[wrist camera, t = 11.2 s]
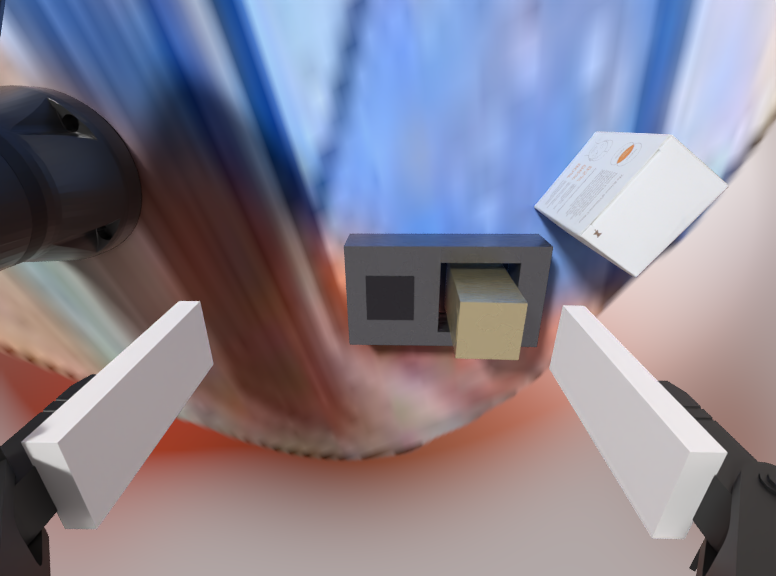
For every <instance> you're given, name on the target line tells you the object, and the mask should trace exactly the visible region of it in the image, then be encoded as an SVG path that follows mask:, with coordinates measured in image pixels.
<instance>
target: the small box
mask: <svg viewBox="0 0 776 576" xmlns="http://www.w3.org/2000/svg"><path fill="white" fill-rule="evenodd" d="M727 188H728V184H726V183H725V182H724V181H723V180H722V179H721V178H720V177H719V176H718V175H716V174H715V173H714V172H713V171H712V170H711V169H710V168H709V167H708V166H706V165H705V164H704V163H703V162H702V161H701V160H700V159H699V158H697V157H696V156H695V155H694V154H693V153H692V152H691V151H690V150H689V149H687V148H686V147H685V146H684V145H683V144H682V143H681V142H679V141H678V140H677V139H676V138H675V137H674V136H673V135H669V134H647V133H623V132H599V131H597V132H595V133H594V135H593V136H592V137H591V138H590V140H589V141H588V142H587V143H586V145H585V146H584V147H583V148H582V149H581V151H580V152H579V153H578V154H577V155H576V157H575V158H574V159H573V160H572V161H571V163H570V164H569V165H568V166H567V167H566V169H565V170H564V171H563V172H562V173H561V175H560V176H559V177H558V178H557V179H556V181H555V182H554V183H553V184H552V186H551V187H550V188H549V189H548V190H547V192H546V193H545V194H544V195H543V196H542V198H541V199H540V200H539V201H538V202H537V204H536V205H535V206H534V207H535V208H536V209H537V210H538V211H539V212H541V213H542V214H543V215H545V216H546V217H547V218H548V219H550V220H551V221H552V222H554V223H555V224H556V225H558V226H559V227H560V228H562V229H563V230H565V231H566V232H567V233H569V234H570V235H571V236H573V237H574V238H576V239H577V240H579V241H580V242H582V243H583V244H585V245H586V246H588V247H589V248H591V249H592V250H594V251H595V252H597V253H598V254H600V255H601V256H603V257H604V258H606V259H607V260H609V261H610V262H612V263H613V264H615V265H616V266H618V267H619V268H621V269H622V270H624V271H625V272H627V273H628V274H630V275H631V276H633V277H638V276H639V275H640V274H641V273H642V272H643V271H644V270H645V269H646V268H647V267H648V266H649V265H650V264H651V263H652V262H653V261H654V260H655V259H656V258H657V257H658V256H659V255H660V254H661V253H662V252H663V251H664V250H665V249H666V248H667V247H668V246H669V245H670V244H671V243H672V242H673V241H674V240H675V239H676V238H677V237H678V236H679V235H680V234H681V233H682V232H683V231H684V230H685V229H686V228H687V227H688V226H689V225H690V224H691V223H692V222H693V221H694V220H695V219H696V218H697V217H698V216H699V215H700V214H701V213H702V212H703V211H704V210H705V209H706V208H707V207H708V206H709V205H710V204H711V203H712V202H713V201H714V200H715V199H717V198H718V197H719V196H720V195H721V194H722V193H723V192H724V191H725V190H726V189H727Z"/></svg>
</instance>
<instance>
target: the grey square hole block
mask: <svg viewBox="0 0 776 576" xmlns="http://www.w3.org/2000/svg"><path fill="white" fill-rule="evenodd" d="M552 251H553V246H552V245H551V244H549V243H548V242H547V241H546V240H545V239H544V238H543V237H541V236H540V235H539V234H350V235H349V237H348V239H347V241H346V243H345V245H344V256H345V273H346V290H347V308H348V325H349V342H350V344H352V345H426V346H453V344H452V339H451V334H450V329H449V324H448V320H447V315H446V313H439V291H440V269H441V263H508V274H509V275H510V277H511V279H512V280H513V282H514V283H515V285H516V286H517V288H518V289H519V291H520V292H521V294H522V295H523V297H524V298H525V300H526V301H527V303H528V306H527V312H526V318H525V324H524V330H523V336H522V342H521V347H537V342H538V336H539V330H540V324H541V318H542V312H543V306H544V300H545V294H546V287H547V281H548V275H549V269H550V263H551V257H552Z"/></svg>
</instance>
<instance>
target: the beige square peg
mask: <svg viewBox="0 0 776 576" xmlns="http://www.w3.org/2000/svg"><path fill="white" fill-rule="evenodd" d="M444 305H445V310H446V315H447V320H448V324H449V329H450V334H451V339H452V344H453V349H454V354H455V358H465V359H499V360H519V354H520V348H521V342H522V336H523V330H524V324H525V318H526V312H527V306H528V303H527V301H526V300H525V298H524V297H523V295H522V294H521V292H520V291H519V289H518V288H517V286H516V285H515V283H514V282H513V280H512V279H511V277H510V275H509V274H508V272H507V271H506V269H505V268H504V266H503V265H502V263H447V272H446V286H445V301H444Z"/></svg>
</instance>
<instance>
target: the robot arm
mask: <svg viewBox="0 0 776 576" xmlns="http://www.w3.org/2000/svg"><path fill="white" fill-rule="evenodd" d="M4 7H5V0H0V35H1V28H2V21H3V14H4ZM140 210H141V186H140V180H139V176H138V172H137V169H136V167H135V164H134V162H133V159H132V157H131V155H130V153H129V151H128V149H127V148H126V146H125V144H124V143H123V141H122V140H121V139H120V137H119V136H118V135H117V133H116V132H115V131H114V130H113V128H112V127H111V126H110V125H109V124H108V123H107V122H106V121H105V120H104V119H103V118H102V117H101V116H100V115H98V114H97V113H96V112H95V111H94V110H92V109H91V108H90V107H88V106H87V105H85V104H84V103H82V102H80V101H79V100H77V99H75V98H73V97H71V96H69V95H66V94H64V93H61V92H58V91H55V90H51V89H47V88H40V87H29V86H14V85H10V86H0V271H1V270H4V269H6V268H8V267H11V266H14V265H16V264H19V263H22V262H39V261H65V260H80V259H85V258H89V257H93V256H96V255H98V254H101V253H103V252H105V251H107V250H110V249H112V248H114V247H116V246H117V245H119V244H120V243H122V242H123V241H124V240H125V239H126V238H127V237H128V236H129V235H130V234H131V232H132V231H133V229H134V227H135V226H136V223H137V221H138V218H139V215H140ZM212 366H213V359H212V354H211V350H210V345H209V340H208V336H207V331H206V326H205V322H204V317H203V312H202V308H201V303H200V301H179V302H177V303H176V304H175V305H174V306H173V307H172V308H171V309H170V310H168V311H167V312H166V313H165V314H164V315H163V316H162V317H161V318H159V319H158V320H157V321H156V322H155V323H154V324H153V325H152V326H151V327H149V328H148V329H147V330H146V331H145V332H144V333H143V334H142V335H140V336H139V337H138V338H137V339H136V340H135V341H134V342H133V343H131V344H130V345H129V346H128V347H127V348H126V349H125V350H124V351H123V352H121V353H120V354H119V355H118V356H117V357H116V358H115V359H114V360H112V361H111V362H110V363H109V364H108V365H107V366H106V367H105V368H103V369H102V370H101V371H100V372H99V373H98V374H91V375H90V376H88V377H86V378H84V379H82V380H81V381H79V382H77V383H75V384H73V385H72V386H70V387H69V388H68V389H67V390H66V391H65V392H63V393H62V394H61V395H60V396H59V397H58V398H57V399H56V401H53V402H52V403H51V404H50V405H48V406H47V407H46V408H45V409H44V411H43V412H41V413H39V414H38V415H37V416H35V417H34V418H33V419H32V420H31V421H30V422H28V423H27V424H26V425H25V426H24V427H23V428H21V429H20V430H19V431H18V432H17V433H16V434H14V436H12V437H11V438H10V439H9V440H7V441H6V442H5V443H4V444H3V445H2V446H0V576H50V556H49V555H50V553H49V536H48V534H47V532H46V529H45V528H44V526H45V525H46V524H47V523H48V521H49V520H50V519H51V518H52V517H53V515H54V514H55V513H56V512H57V514H58V516H59V518H60V520H61V522H62V524H63V526H64V528H65V529H98V527H99V526H100V524H101V523H102V522H103V520H104V519H105V517H106V516H107V514H108V513H109V511H110V510H111V509H112V507H113V506H114V504H115V503H116V502H117V500H118V499H119V497H120V496H121V495H122V493H123V492H124V490H125V489H126V488H127V486H128V485H129V483H130V482H131V481H132V479H133V478H134V476H135V475H136V473H137V472H138V470H139V469H140V468H141V466H142V465H143V464H144V462H145V461H146V459H147V458H148V456H149V455H150V454H151V452H152V451H153V449H154V448H155V447H156V445H157V444H158V442H159V441H160V439H161V438H162V436H163V435H164V434H165V432H166V431H167V430H168V428H169V427H170V425H171V424H172V422H173V421H174V420H175V418H176V417H177V415H178V414H179V413H180V411H181V410H182V408H183V407H184V405H185V404H186V403H187V401H188V400H189V398H190V397H191V396H192V394H193V393H194V391H195V390H196V388H197V387H198V386H199V384H200V383H201V381H202V380H203V379H204V377H205V376H206V374H207V373H208V371H209V370H210V369H211V367H212ZM549 369H550V370H551V372H552V374H553V375H554V377H555V379H556V380H557V382H558V384H559V385H560V387H561V389H562V390H563V392H564V394H565V395H566V397H567V399H568V400H569V402H570V404H571V405H572V407H573V408H574V410H575V412H576V414H577V415H578V417H579V418H580V420H581V422H582V424H583V425H584V427H585V428H586V430H587V432H588V433H589V435H590V437H591V438H592V440H593V442H594V443H595V445H596V447H597V448H598V450H599V452H600V453H601V455H602V457H603V458H604V460H605V461H606V463H607V465H608V467H609V468H610V470H611V472H612V473H613V475H614V476H615V478H616V480H617V482H618V483H619V485H620V486H621V488H622V490H623V491H624V493H625V495H626V496H627V498H628V500H629V501H630V503H631V505H632V506H633V508H634V509H635V511H636V513H637V515H638V516H639V518H640V520H641V521H642V523H643V525H644V526H645V528H646V529H647V531H648V533H649V535H650V536H651V538H654V539H656V538H657V539H659V538H660V539H685V537H686V535H687V533H688V531H689V529H690V527H691V525H692V523H693V521H694V523H695V524H696V525H697V527H698V528H699V529H700V531H701V532H702V534H703V535H704V536H705V539H704V541H703V543H702V545H701V547H700V549H699V551H698V553H697V554H696V556H695V558H694V560H693V562H692V564H691V566H690V569H691V570H693V571H696V569H697V574H696V576H776V466H775V465H772V464H769V463H765V462H757V460H756V459H754V458H753V456H751V454H749V453H748V452H747V451H746V450H745V449H744V448H743V447H742V446H741V445H740V444H739V443H738V442H737V441H736V440H735V439H734V438H733V437H732V436H731V435H730V434H729V433H728V432H726V430H725V429H724V428H722V427H721V426H720V425H719V424H718V423H717V422H716V421H713V420H712V417H711V416H710V415H709V414H708V413H707V412H706V411H705V410H704V409H701V407H700V405H698V403H697V402H695V400H693V399H692V398H691V397H690V396H689V395H688V394H687V393H686V392H684V391H683V390H681V389H680V388H678V387H676V386H675V385H673V384H671V383H670V382H668V381H657V380H656V379H655V378H654V377H653V376H652V375H651V374H650V373H649V372H648V371H647V369H646V368H645V367H644V366H643V365H641V363H640V362H639V361H638V360H637V359H636V358H635V357H634V356H633V355H632V354H631V353H630V352H629V351H628V350H627V349H626V348H625V347H624V346H623V345H622V344H621V343H620V342H619V341H618V340H617V339H616V338H615V337H614V336H613V335H612V334H611V333H610V332H609V331H608V330H607V329H606V327H604V326H603V325H602V323H601V322H600V321H599V320H598V319H597V318H596V317H595V316H594V315H593V314H592V313H591V312H590V311H589V310H588V309H587V308H586V307H585V306H564V305H563V308H562V312H561V317H560V322H559V326H558V331H557V336H556V340H555V345H554V349H553V354H552V359H551V363H550V368H549Z"/></svg>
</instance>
